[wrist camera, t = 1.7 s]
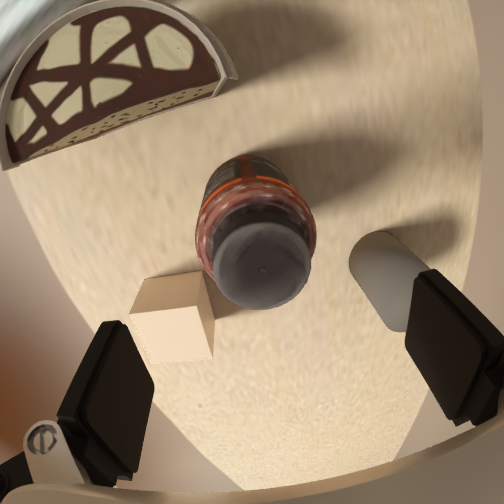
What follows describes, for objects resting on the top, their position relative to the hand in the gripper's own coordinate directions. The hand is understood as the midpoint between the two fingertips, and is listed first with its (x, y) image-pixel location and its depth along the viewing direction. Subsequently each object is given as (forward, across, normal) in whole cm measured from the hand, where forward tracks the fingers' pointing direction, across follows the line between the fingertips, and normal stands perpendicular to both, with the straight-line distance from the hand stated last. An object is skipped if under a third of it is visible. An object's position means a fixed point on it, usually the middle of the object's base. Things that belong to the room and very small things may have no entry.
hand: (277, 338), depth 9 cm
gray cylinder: (+15, -10, +6) cm, 19 cm away
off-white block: (+15, +7, +7) cm, 18 cm away
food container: (+15, +6, -11) cm, 19 cm away
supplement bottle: (+15, 0, -1) cm, 15 cm away
